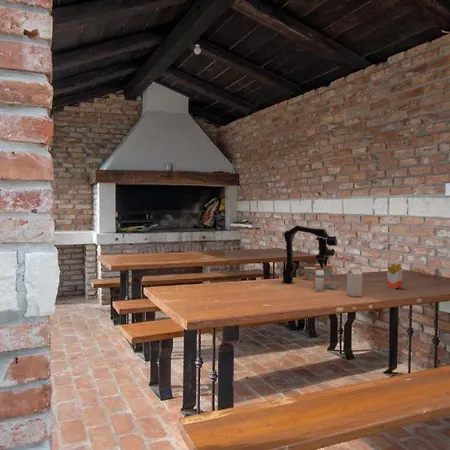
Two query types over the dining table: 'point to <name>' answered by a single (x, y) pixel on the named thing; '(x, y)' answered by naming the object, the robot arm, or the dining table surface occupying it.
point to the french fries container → (394, 276)
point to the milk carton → (354, 282)
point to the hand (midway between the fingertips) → (323, 267)
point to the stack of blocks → (311, 271)
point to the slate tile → (330, 287)
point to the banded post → (319, 280)
